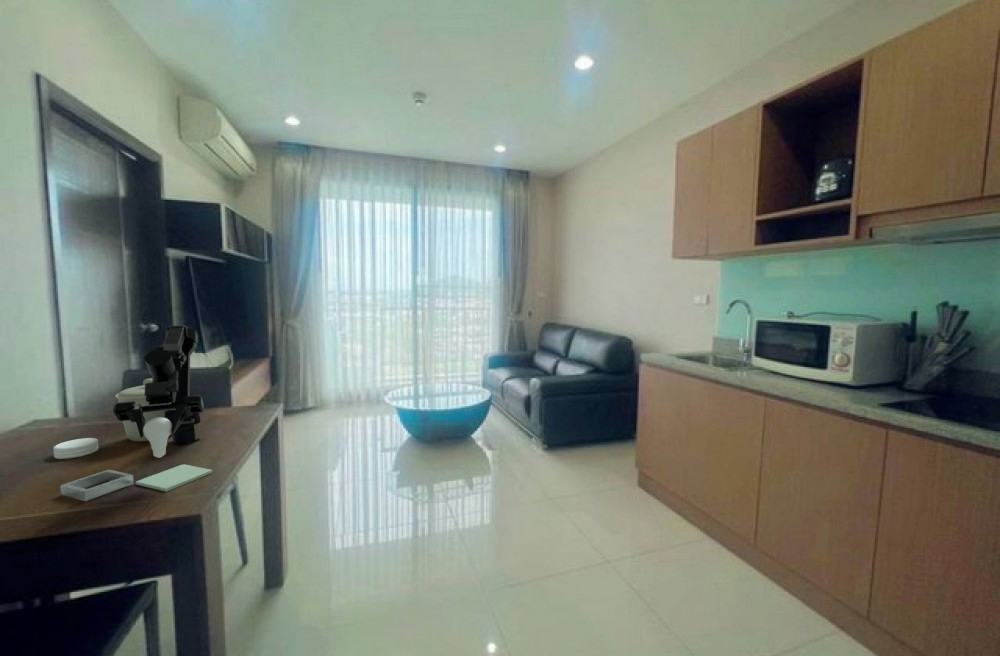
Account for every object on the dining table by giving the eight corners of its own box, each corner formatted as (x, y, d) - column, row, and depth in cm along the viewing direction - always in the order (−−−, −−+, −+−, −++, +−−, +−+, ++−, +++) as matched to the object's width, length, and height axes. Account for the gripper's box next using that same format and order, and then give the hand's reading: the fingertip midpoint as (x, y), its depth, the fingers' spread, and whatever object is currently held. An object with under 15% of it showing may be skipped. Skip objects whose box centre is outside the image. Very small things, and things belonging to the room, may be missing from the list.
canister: (174, 442, 140) (171, 381, 138) (107, 449, 133) (102, 385, 132) (192, 426, 157) (189, 372, 155) (132, 431, 150) (129, 375, 148)
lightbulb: (143, 463, 106) (141, 422, 105) (145, 456, 111) (143, 416, 110) (173, 458, 110) (171, 418, 109) (174, 451, 114) (172, 413, 113)
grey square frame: (61, 494, 103) (60, 485, 102) (109, 478, 112) (109, 469, 112) (85, 501, 99) (84, 491, 99) (133, 483, 109) (132, 474, 109)
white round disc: (55, 453, 130) (54, 442, 130) (98, 445, 137) (98, 435, 137) (52, 462, 123) (51, 451, 123) (98, 453, 130) (97, 443, 130)
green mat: (135, 484, 109) (135, 481, 108) (183, 466, 120) (183, 464, 120) (166, 491, 105) (166, 488, 105) (212, 472, 116) (212, 470, 116)
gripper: (112, 372, 107) (100, 425, 98) (200, 367, 116) (196, 415, 108) (124, 395, 115) (113, 446, 106) (205, 388, 124) (201, 434, 115)
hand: (157, 435), depth 108 cm, fingers closed on lightbulb, 6 cm apart
